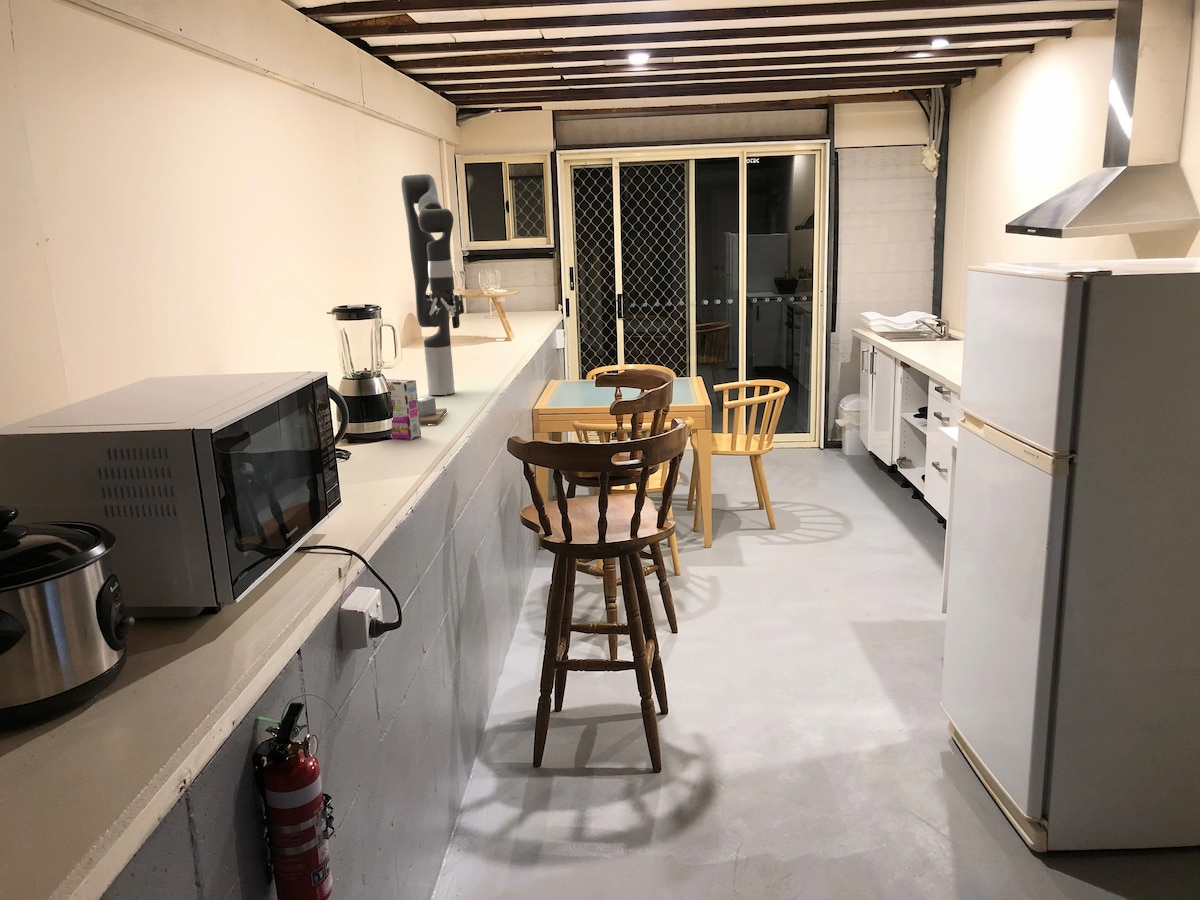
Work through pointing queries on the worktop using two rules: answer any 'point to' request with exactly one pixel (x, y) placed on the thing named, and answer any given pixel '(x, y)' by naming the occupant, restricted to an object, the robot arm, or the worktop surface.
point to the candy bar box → (404, 409)
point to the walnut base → (433, 417)
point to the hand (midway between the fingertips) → (445, 327)
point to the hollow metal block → (426, 407)
